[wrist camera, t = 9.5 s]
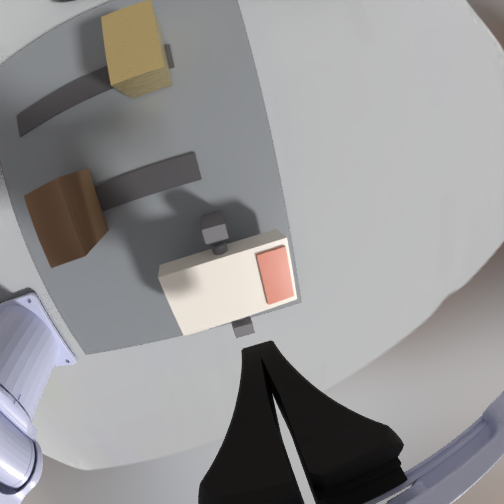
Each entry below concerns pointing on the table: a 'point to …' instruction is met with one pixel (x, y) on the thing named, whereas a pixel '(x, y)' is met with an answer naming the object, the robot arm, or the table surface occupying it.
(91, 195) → the walnut knob
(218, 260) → the rocker
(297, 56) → the table surface
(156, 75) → the tan wooden block
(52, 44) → the console
